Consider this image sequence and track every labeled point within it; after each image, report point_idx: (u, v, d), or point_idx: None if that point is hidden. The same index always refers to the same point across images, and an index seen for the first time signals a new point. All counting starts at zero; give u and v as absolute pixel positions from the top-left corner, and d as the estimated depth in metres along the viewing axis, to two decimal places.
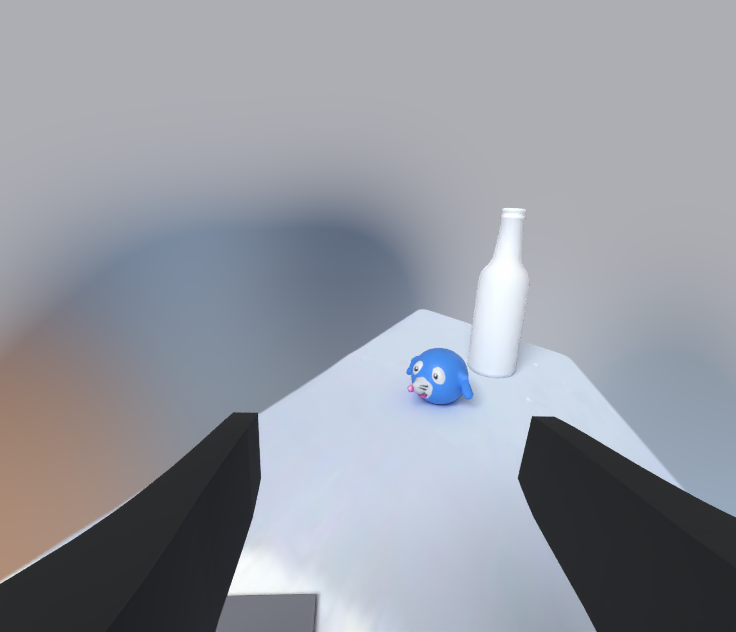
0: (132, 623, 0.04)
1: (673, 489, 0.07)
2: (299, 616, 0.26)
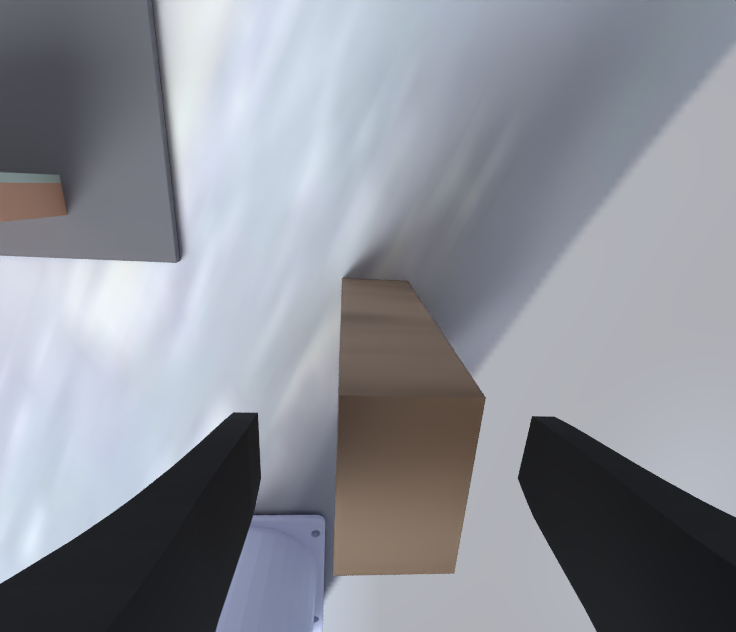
0: (132, 623, 0.04)
1: (673, 489, 0.07)
2: None
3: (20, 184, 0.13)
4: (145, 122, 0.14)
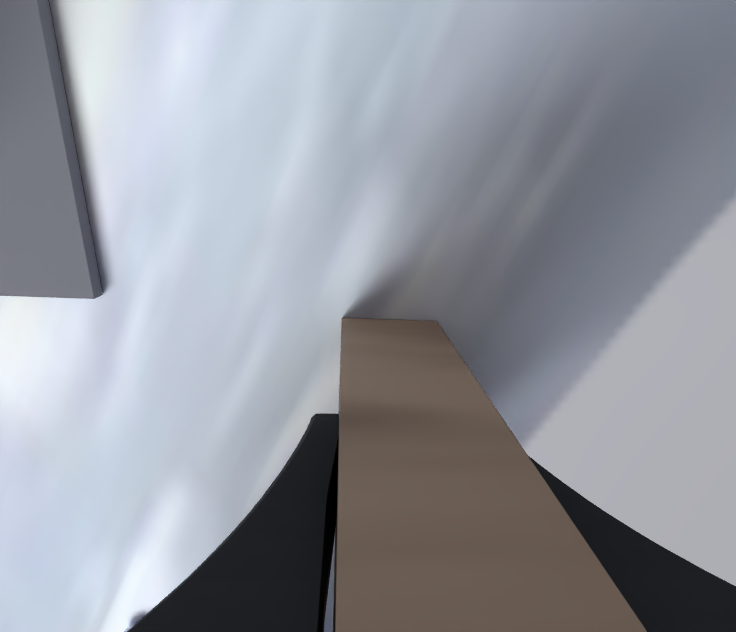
0: (319, 618, 0.04)
1: (565, 489, 0.07)
2: None
3: None
4: (28, 81, 0.09)
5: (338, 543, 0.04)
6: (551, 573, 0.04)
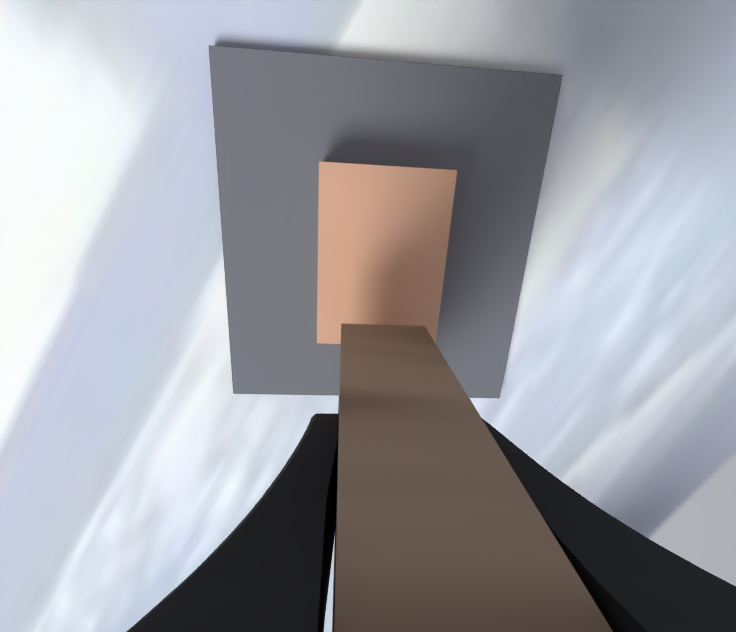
0: (319, 618, 0.04)
1: (564, 489, 0.07)
2: (528, 119, 0.15)
3: None
4: (507, 295, 0.17)
5: (338, 483, 0.06)
6: (492, 502, 0.06)
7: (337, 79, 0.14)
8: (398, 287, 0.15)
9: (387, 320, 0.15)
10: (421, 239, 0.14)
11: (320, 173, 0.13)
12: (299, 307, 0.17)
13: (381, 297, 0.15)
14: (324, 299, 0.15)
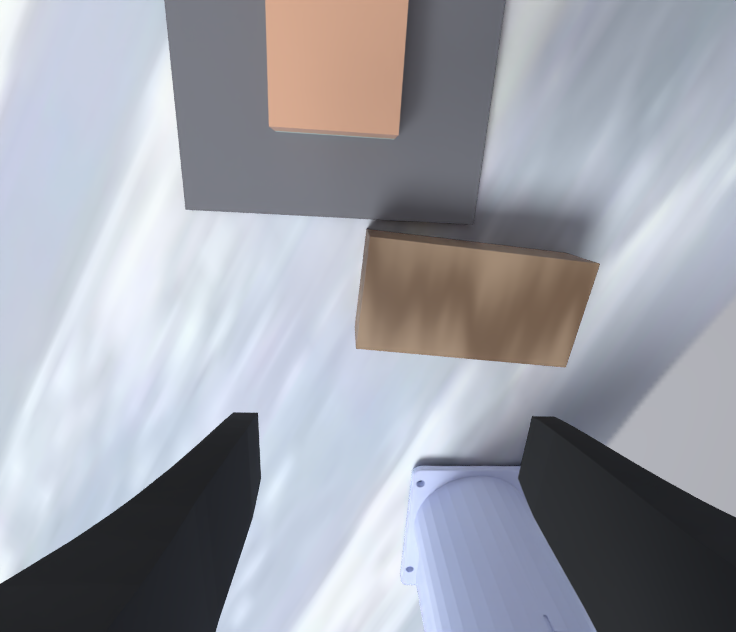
0: (133, 623, 0.04)
1: (673, 489, 0.07)
2: None
3: None
4: (479, 94, 0.16)
5: None
6: (411, 239, 0.16)
7: None
8: (355, 56, 0.14)
9: (345, 99, 0.14)
10: None
11: None
12: (253, 102, 0.15)
13: (337, 68, 0.14)
14: (275, 69, 0.14)
